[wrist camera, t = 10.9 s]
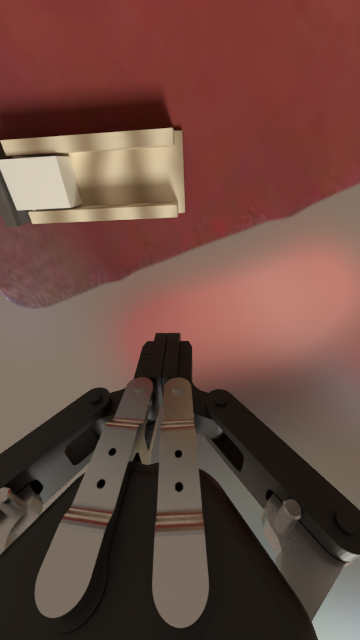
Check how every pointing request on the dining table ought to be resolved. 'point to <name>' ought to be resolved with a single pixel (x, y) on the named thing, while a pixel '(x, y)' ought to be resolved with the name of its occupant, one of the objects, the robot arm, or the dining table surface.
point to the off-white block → (41, 182)
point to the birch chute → (107, 175)
